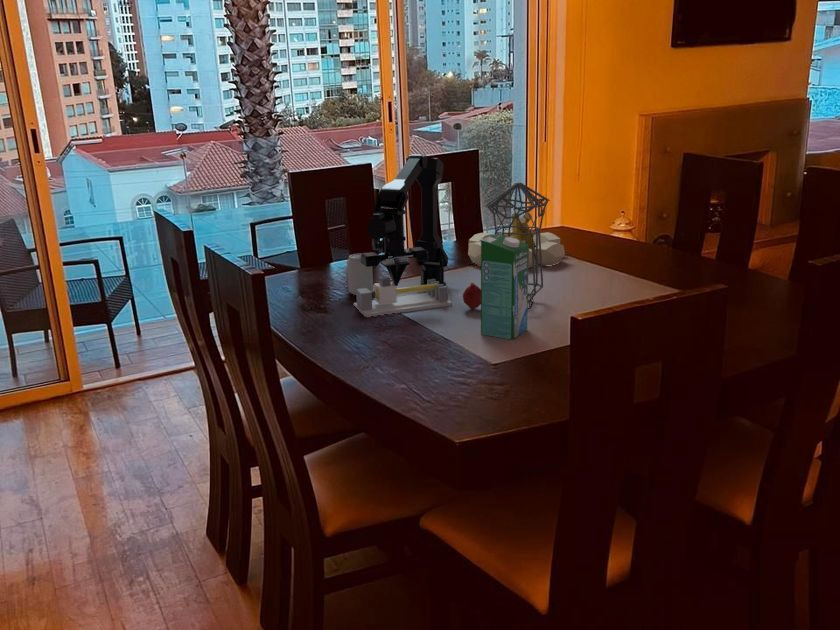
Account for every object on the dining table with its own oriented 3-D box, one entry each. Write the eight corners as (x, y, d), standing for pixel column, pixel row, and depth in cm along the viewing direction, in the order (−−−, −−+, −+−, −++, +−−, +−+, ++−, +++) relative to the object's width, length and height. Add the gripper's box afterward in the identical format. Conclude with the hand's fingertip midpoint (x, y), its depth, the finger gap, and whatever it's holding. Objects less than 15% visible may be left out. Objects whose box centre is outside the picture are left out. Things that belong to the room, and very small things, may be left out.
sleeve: (390, 298, 222) (390, 274, 220) (396, 302, 217) (395, 278, 215) (374, 300, 220) (373, 276, 218) (380, 304, 216) (379, 281, 214)
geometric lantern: (484, 309, 216) (483, 185, 206) (498, 295, 230) (498, 179, 220) (539, 313, 211) (541, 186, 201) (550, 299, 225) (552, 179, 215)
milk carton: (512, 340, 191) (513, 242, 184) (480, 334, 196) (480, 239, 188) (527, 329, 199) (529, 235, 191) (496, 324, 203) (497, 232, 196)
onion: (485, 307, 218) (485, 280, 215) (480, 313, 213) (480, 285, 210) (466, 305, 220) (465, 279, 217) (460, 311, 215) (460, 284, 212)
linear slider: (435, 294, 231) (435, 275, 229) (451, 305, 220) (451, 285, 218) (353, 306, 222) (352, 286, 220) (366, 317, 211) (365, 296, 210)
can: (369, 297, 231) (368, 258, 227) (345, 296, 232) (343, 257, 228) (376, 290, 237) (374, 252, 234) (352, 289, 239) (350, 252, 235)
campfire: (570, 271, 255) (572, 220, 250) (469, 273, 256) (469, 223, 251) (554, 247, 288) (556, 202, 283) (465, 249, 289) (464, 204, 284)
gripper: (414, 224, 224) (415, 275, 229) (353, 230, 218) (356, 283, 222) (428, 231, 214) (429, 284, 219) (365, 237, 208) (368, 292, 213)
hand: (395, 285), depth 218 cm, fingers closed
